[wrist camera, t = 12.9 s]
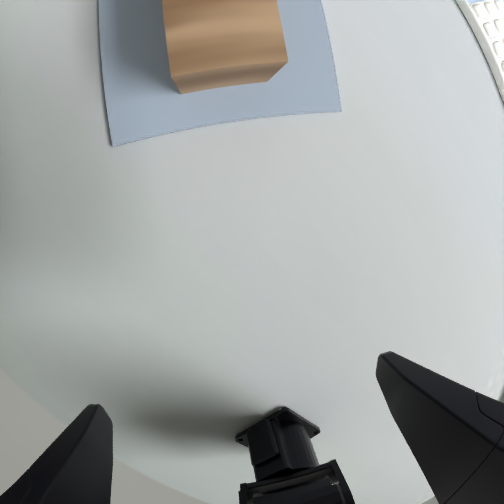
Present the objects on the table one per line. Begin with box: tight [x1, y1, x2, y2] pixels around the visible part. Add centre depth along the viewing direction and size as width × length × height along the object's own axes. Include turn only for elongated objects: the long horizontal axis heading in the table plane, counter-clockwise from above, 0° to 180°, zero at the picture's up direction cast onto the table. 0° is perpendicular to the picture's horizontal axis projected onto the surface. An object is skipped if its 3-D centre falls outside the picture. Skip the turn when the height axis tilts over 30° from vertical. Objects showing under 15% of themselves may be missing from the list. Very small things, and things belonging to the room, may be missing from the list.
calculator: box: [456, 0, 504, 103], centre depth 14 cm, size 13×20×2 cm, turn 34°
